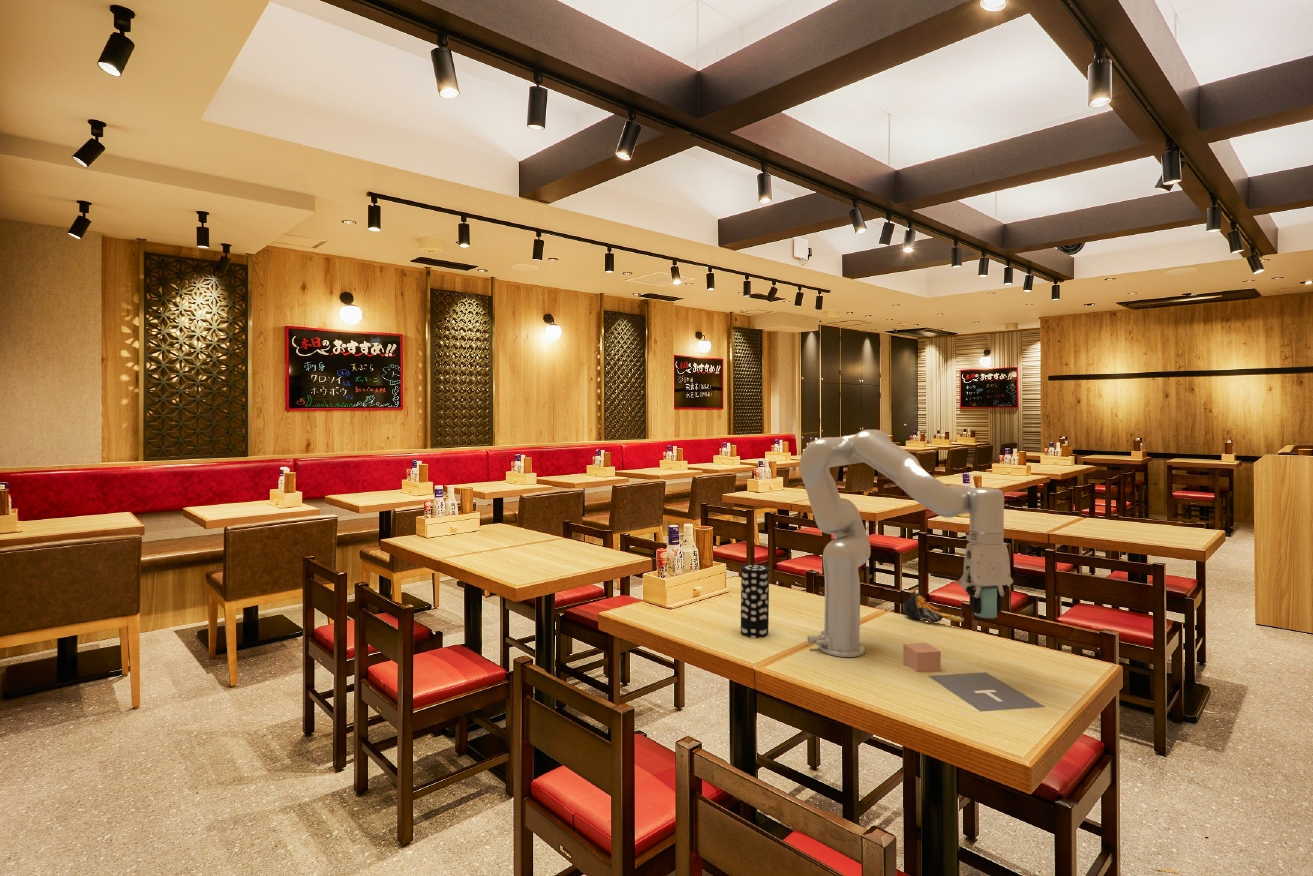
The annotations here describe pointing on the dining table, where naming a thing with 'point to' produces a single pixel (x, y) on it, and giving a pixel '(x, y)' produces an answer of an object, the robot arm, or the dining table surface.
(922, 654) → the block
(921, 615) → the black and orange piece
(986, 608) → the cylinder
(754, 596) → the spotted tube
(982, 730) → the dining table surface
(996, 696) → the board
